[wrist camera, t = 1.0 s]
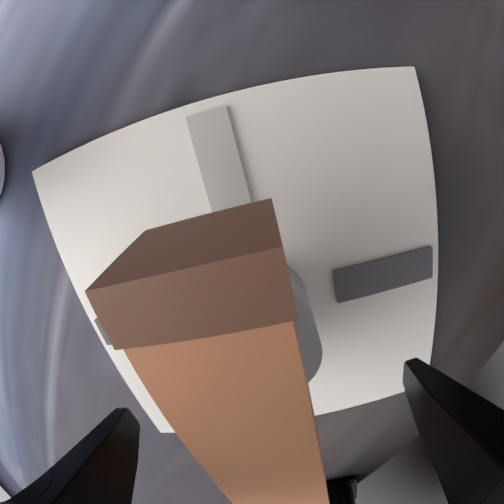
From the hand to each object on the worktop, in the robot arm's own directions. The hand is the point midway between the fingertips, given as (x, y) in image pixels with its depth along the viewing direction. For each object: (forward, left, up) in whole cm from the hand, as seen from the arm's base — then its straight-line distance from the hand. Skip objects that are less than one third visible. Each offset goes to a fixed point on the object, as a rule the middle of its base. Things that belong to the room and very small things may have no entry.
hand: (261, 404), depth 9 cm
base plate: (0, 0, -7) cm, 7 cm away
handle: (0, 0, -2) cm, 2 cm away
